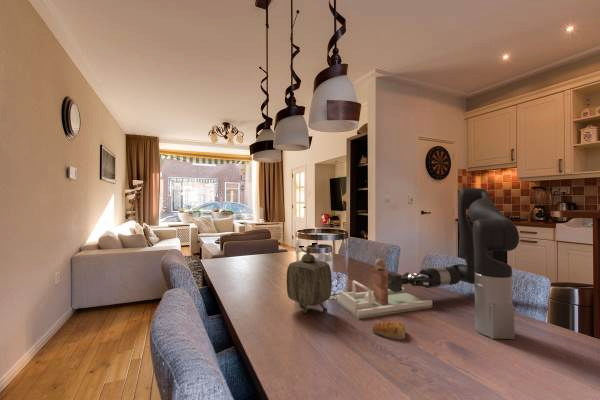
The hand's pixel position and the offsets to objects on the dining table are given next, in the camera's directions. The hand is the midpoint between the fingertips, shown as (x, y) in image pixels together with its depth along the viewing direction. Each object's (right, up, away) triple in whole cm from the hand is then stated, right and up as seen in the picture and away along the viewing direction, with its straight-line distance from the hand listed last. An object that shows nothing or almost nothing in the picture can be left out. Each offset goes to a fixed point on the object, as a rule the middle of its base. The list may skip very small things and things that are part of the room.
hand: (397, 281), depth 110 cm
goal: (-17, -7, -5) cm, 19 cm away
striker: (-4, -7, -1) cm, 8 cm away
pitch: (-6, -8, -2) cm, 10 cm away
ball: (-11, -5, -4) cm, 13 cm away
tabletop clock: (-34, -9, -8) cm, 36 cm away
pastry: (-10, -9, -25) cm, 29 cm away
